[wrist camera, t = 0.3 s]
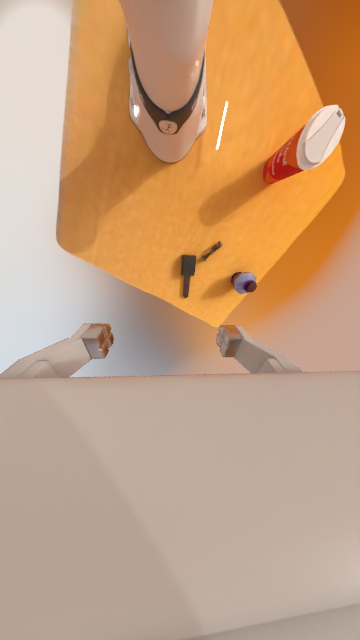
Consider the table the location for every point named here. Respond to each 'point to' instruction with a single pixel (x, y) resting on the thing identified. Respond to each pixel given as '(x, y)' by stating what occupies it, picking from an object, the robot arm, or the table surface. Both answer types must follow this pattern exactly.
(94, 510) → the robot arm
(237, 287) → the potion bottle
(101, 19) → the table surface
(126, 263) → the table surface
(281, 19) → the table surface
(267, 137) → the table surface
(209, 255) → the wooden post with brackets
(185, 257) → the mallet
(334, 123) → the coffee cup
